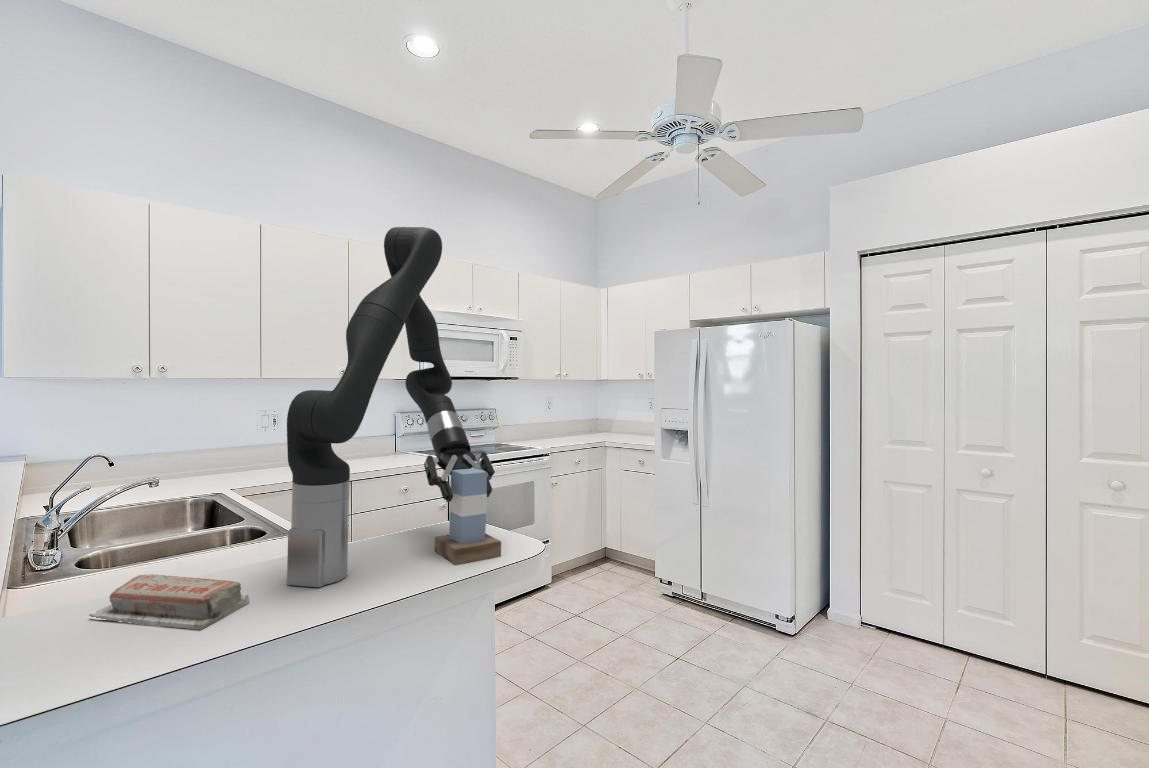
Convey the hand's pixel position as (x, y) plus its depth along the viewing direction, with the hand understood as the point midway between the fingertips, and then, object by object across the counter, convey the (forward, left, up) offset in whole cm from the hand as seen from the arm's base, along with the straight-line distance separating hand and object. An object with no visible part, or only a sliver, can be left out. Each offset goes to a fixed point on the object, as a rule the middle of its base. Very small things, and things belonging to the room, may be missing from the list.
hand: (469, 497), depth 112 cm
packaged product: (-35, +34, -12) cm, 50 cm away
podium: (0, 0, -12) cm, 12 cm away
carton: (0, 0, -9) cm, 9 cm away
